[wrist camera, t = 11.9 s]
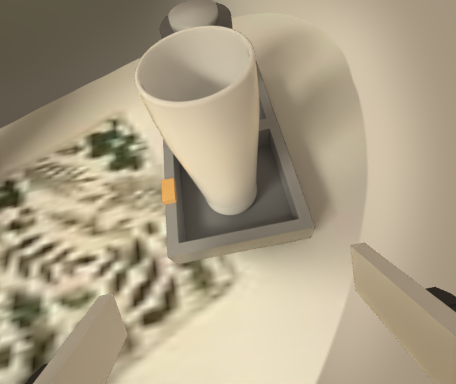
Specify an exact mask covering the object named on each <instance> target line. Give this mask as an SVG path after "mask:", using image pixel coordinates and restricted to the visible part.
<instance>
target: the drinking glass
mask: <svg viewBox="0 0 456 384" xmlns="http://www.w3.org/2000/svg"><path fill="white" fill-rule="evenodd" d="M135 85H136V87H137V90H138V92H139V93H140V96H141V98H142V100H143V102H144V104H145V106H146V108H147V110H148V112H149V114H150V116H151V118H152V120H153V122H154V123H155V125H156V127H157V129H158V130H159V132H160V134H161V136H162V137H163V139H164V140H165V142H166V144H167V145H168V147H169V148H170V149H171V151H172V152H173V154H174V155H175V157H176V158H177V159H178V161H179V162H180V163H181V165H182V166H183V168H184V169H185V170H186V172H187V173H188V174H189V176H190V177H191V179H192V180H193V181H194V183H195V184H196V186H197V187H198V189H199V190H200V191H201V193H202V194H203V196H204V198H205V200H206V202H207V203H208V205H209V206H210V207H211V208H212V209H213V210H214V211H216V212H217V213H220V214H223V215H236V214H239V213H242V212H244V211H245V210H247V209H248V208H249V207H250V206H251V205H252V204H253V202H254V200H255V198H256V195H257V181H256V179H257V157H258V140H259V119H260V104H259V87H258V77H257V68H256V60H255V51H254V48H253V46H252V44H251V42H250V41H249V40H248V38H247V37H245V36H244V35H243V34H241V33H240V32H238V31H236V30H233V29H231V28H227V27H222V26H198V27H192V28H188V29H184V30H181V31H178V32H176V33H173V34H171V35H169V36H167V37H165V38H163V39H162V40H160V41H158V42H157V43H156V44H154V45H153V46H152V47H151V48H150V49H148V50H147V51H146V53H145V54H144V55H143V56H142V58H141V59H140V61H139V63H138V64H137V67H136V70H135Z"/></svg>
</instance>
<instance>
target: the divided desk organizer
mask: <svg viewBox="0 0 456 384" xmlns="http://www.w3.org/2000/svg"><path fill="white" fill-rule="evenodd" d="M198 26H222V27H227V28H231V29H233V28H232V20H231V14H230V11H229V9H228V8H227V7H226V6H224V5H222V4H219V3H215V2H214V1H212V0H188V1H185V2H183V3H180V4H179V5H177V6H175V7H174V8H173V9H172V10H171V11H170V13H169V15H168V16H167V17H166V18H165V19H164V20H163V21H162V23H161V25H160V34H161V37H162V39H163V38H165V37H167V36H169V35H171V34H173V33H176V32H178V31H181V30H184V29H188V28H192V27H198ZM256 68H257V77H258V87H259V104H260V119H259V140H258V157H257V179H256V181H257V195H256V198H255V200H254V202H253V204H252V205H251V206H250V207H249V208H248V209H247V210H245V211H244V212H242V213H239V214H236V215H223V214H220V213H217V212H216V211H214V210H213V209H212V208H211V207H210V206H209V205H208V203H207V202H206V200H205V198H204V196H203V194H202V193H201V191H200V190H199V189H198V187H197V186H196V184H195V183H194V181H193V180H192V179H191V177H190V176H189V174H188V173H187V172H186V170H185V169H184V168H183V166H182V165H181V163H180V162H179V161H178V159H177V158H176V157H175V155H174V154H173V152H172V151H171V149H170V148H169V147H168V145H167V144H166V142H165V140H164V139H163V147H164V174H165V180H162V202H163V203H164V205H166V227H167V254H168V258H170V259H171V260H172V261H173V262H175V263H176V264H180V263H185V262H190V261H195V260H201V259H206V258H211V257H216V256H221V255H226V254H231V253H236V252H241V251H246V250H251V249H256V248H261V247H266V246H271V245H276V244H281V243H286V242H291V241H296V240H301V239H306V238H311V236H312V233H313V231H314V228H315V226H314V223H313V221H312V218H311V215H310V212H309V209H308V206H307V204H306V201H305V198H304V195H303V192H302V190H301V187H300V184H299V181H298V178H297V175H296V173H295V170H294V167H293V164H292V161H291V158H290V156H289V153H288V150H287V147H286V144H285V141H284V139H283V136H282V133H281V130H280V127H279V125H278V122H277V119H276V116H275V113H274V110H273V108H272V105H271V102H270V99H269V96H268V93H267V91H266V88H265V85H264V82H263V79H262V76H261V74H260V71H259V68H258V65H257V62H256Z"/></svg>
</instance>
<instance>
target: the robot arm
mask: <svg viewBox="0 0 456 384" xmlns="http://www.w3.org/2000/svg"><path fill="white" fill-rule="evenodd" d="M350 247H351V256H352V265H353V274H354V283H355V290H356V292H357V293H358V294H359V295H360V296H361V298H362V299H363V300H364V301H365V302H366V303H367V305H368V306H369V307H370V308H371V309H372V311H373V312H374V313H375V314H376V315H377V316H378V318H379V319H380V320H381V321H382V322H383V323H384V324H385V326H386V327H387V328H388V329H389V330H390V332H391V333H392V334H393V335H394V336H395V338H396V339H397V340H398V341H399V342H400V343H401V345H402V346H403V347H404V348H405V349H406V350H407V352H408V353H409V354H410V355H411V356H412V358H413V359H414V360H415V361H416V362H417V363H418V365H419V366H420V367H421V368H422V369H423V371H424V372H425V373H426V374H427V375H428V376H429V378H430V379H431V380H432V381H433V382H434V383H435V384H456V297H455V296H454V295H452V294H451V293H448V292H446V291H444V290H441V289H439V288H436V287H432V288H428V289H424V288H423V287H422V286H421V285H419V284H418V283H417V282H415V281H414V280H413V279H411V278H410V277H409V276H408V275H406V274H405V273H404V272H402V271H401V270H400V269H398V268H397V267H396V266H394V265H393V264H392V263H390V262H389V261H388V260H386V259H385V258H384V257H383V256H381V255H380V254H379V253H377V252H376V251H375V250H373V249H372V248H371V247H370V246H368V245H367V244H366V243H361V244H356V245H351V246H350ZM126 338H127V332H126V329H125V327H124V324H123V321H122V318H121V315H120V312H119V309H118V306H117V304H116V301H115V298H114V295H113V293H112V294H108V295H103V296H99V297H98V299H97V300H96V301H95V303H94V304H93V305H92V307H91V308H90V309H89V311H88V312H87V313H86V315H85V316H84V317H83V318H82V320H81V321H80V322H79V324H78V325H77V326H76V328H75V329H74V330H73V332H72V333H71V334H70V336H69V337H68V338H67V340H66V341H65V342H64V344H63V345H62V346H61V347H60V349H59V350H58V351H57V353H56V354H55V355H54V357H53V358H52V359H51V361H50V362H49V363H48V364H44V365H43V366H42V367H41V368H40V369H39V370H38V371H37V372H35V373H34V374H33V375H32V376H31V377H30V378H29V380H28V381H27V382H26V383H25V384H105V382H106V380H107V378H108V376H109V374H110V372H111V369H112V367H113V365H114V363H115V361H116V359H117V357H118V355H119V352H120V350H121V348H122V346H123V344H124V342H125V340H126Z"/></svg>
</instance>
